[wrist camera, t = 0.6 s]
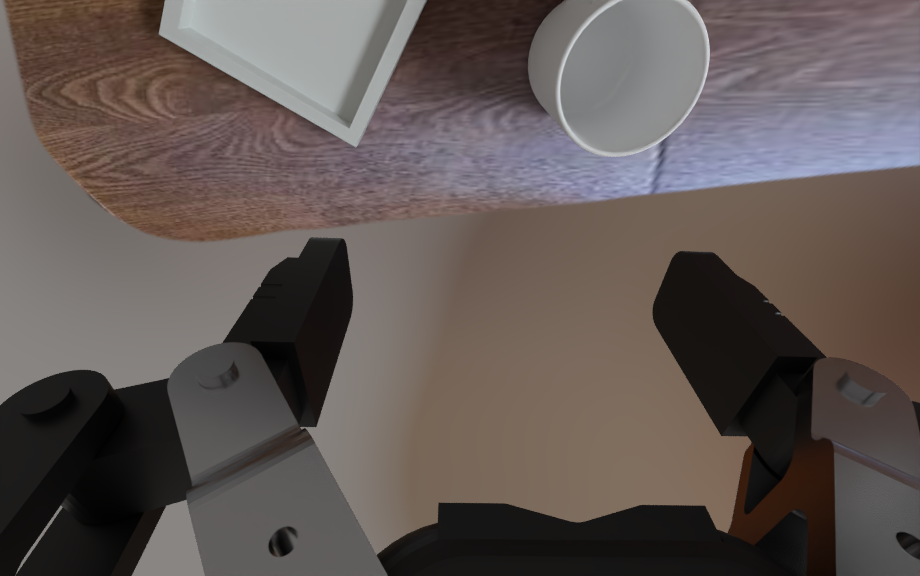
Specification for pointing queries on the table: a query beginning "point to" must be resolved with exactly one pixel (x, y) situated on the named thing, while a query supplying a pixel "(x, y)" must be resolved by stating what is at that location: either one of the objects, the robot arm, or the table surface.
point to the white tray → (301, 51)
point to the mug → (619, 70)
